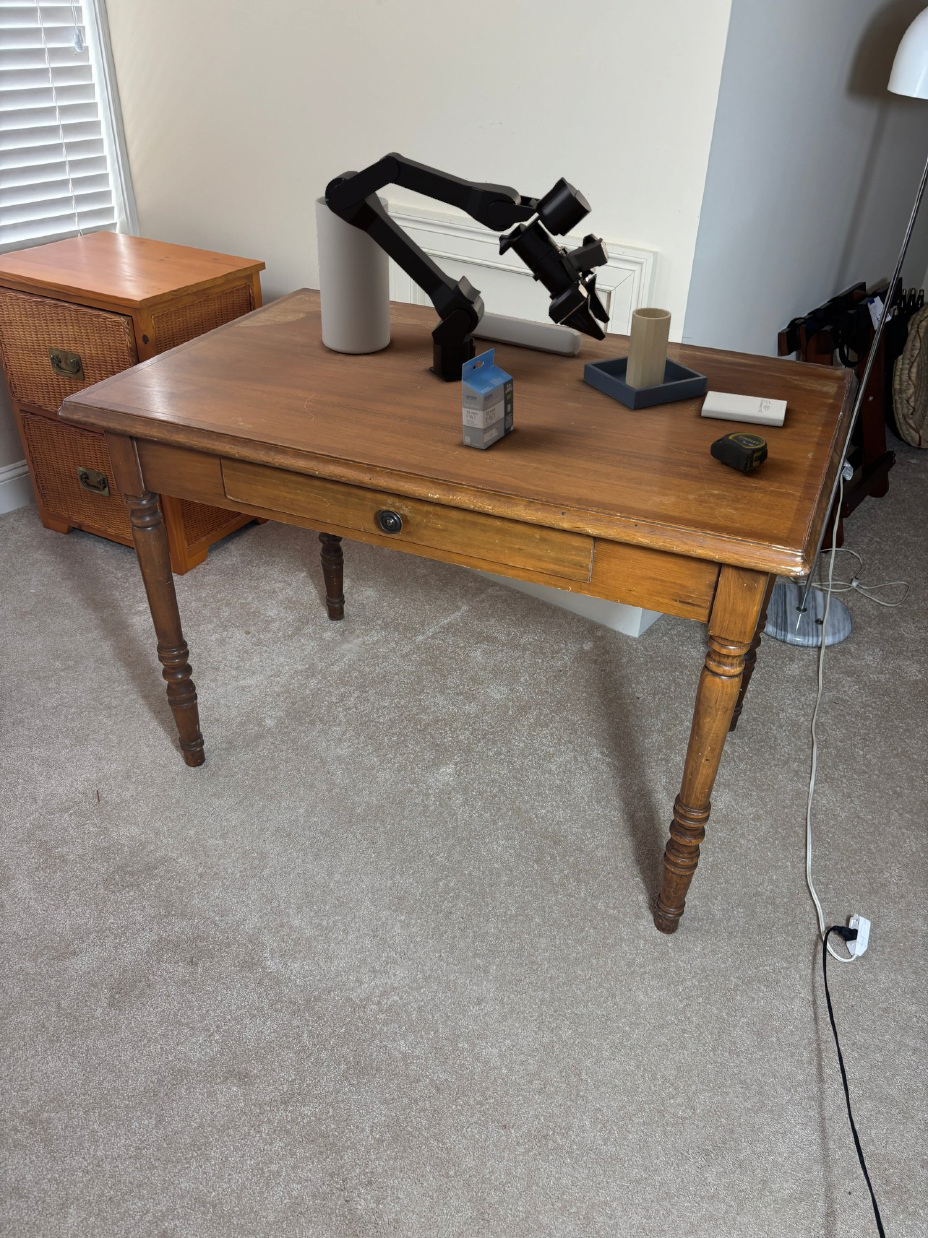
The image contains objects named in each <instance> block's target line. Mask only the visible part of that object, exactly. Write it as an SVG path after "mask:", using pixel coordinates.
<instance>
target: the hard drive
mask: <svg viewBox="0 0 928 1238" xmlns="http://www.w3.org/2000/svg"><path fill="white" fill-rule="evenodd" d="M787 403H788V401H787V400H781V399H780V400H779V399H775V398H774V399H773V398H765V397H759V396H758V397H757V396H749V395H744V394H743V395H742V394H735V393H729V392H728V393H727V392H718V391H712V390H709V391H708V392H707V393H706V396H705V399H704V402H703V406H702V408H701V414H700V415H701V417H705V418H712V419H719V420H727V421H735V422H743V423H750V424H757V425H765V426H773V427H783V424H784V421H785V414H786V409H787Z"/></svg>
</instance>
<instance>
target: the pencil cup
mask: <svg viewBox="0 0 928 1238" xmlns="http://www.w3.org/2000/svg"><path fill="white" fill-rule="evenodd" d="M631 314H632V315H631V324H630V334H629V341H628V342H629V344H628V353H627V356H628V362H627V372H626V382H625V384H627V385H629V386H631V387H633V388H635V389H636V390H637V389H641V388H646V387H651V386H656V385H661V384H663V379H664V371H665V363H666V357H667V356H668V355H667V354H668V347H669V346H668V345H669V338H670V329H671V322H672V312H670V311H669V310H667V309H664V308H660V307H659V308H658V307H639V308H636V309H633V310H632V313H631Z"/></svg>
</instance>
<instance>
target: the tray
mask: <svg viewBox="0 0 928 1238" xmlns="http://www.w3.org/2000/svg"><path fill="white" fill-rule="evenodd" d="M627 362H628V355H626V356H620V357H615V358H610V359H604V360H598V361H593V362H587V363H584V366H583V379H582V381H583V382H584V383H586V384H588V385H590V386H592V387H593V388H595V389H596V390H599V391H600V392H602V393H604V394H605V395H607V396H609V397H610V398H613V399H614V400H616V401H618V402H619V403H621V404H623V405H625V406H627V407H628V408H630V409H632V410H638V409H643V408H647V407H651V406H652V407H653V406H658V405H662V404H666V403H672V402H676V401H681V400H686V399H690V398H696V397H700V396H706V394H707V393H706V391H707V385H708V376H706V375H704V374H702V373H700V372H698V371H696V370H694V369H691V368H690V367H687V366H686V365H683V364H682V363H679V362H677V361H676V360H674V359H671V358H669V357H667V356H666V363H665V371H664V379H663V384H661V385H656V386H651V387H646V388H641V389H637V390H636V389H635V388H633V387H631V386H629V385H627V384H625V382H626V372H627Z"/></svg>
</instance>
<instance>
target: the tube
mask: <svg viewBox="0 0 928 1238" xmlns="http://www.w3.org/2000/svg"><path fill="white" fill-rule="evenodd" d="M468 335H470V336H471V337H473V338H479V339H484V340H489V341H493V342H497V343H498V342H499V343H503V344H508V345H513V346H517V347H522V348H527V349H531V350H537V351H540V352H541V351H542V352H546V353H551V354H555V355H561V356H564V357H572V356H576V355H578V353H579V351H580V350H581V348H582V347H583V337H582V333H581V332H579V331H577V330H575V329H572V328H570V327H567V326H563V325H558V324H551V323H546V322H542V321H536V320H531V319H526V318H520V317H515V316H510V315H505V314H501V313H500V314H499V313H494V312H489V311H484V315H483V317H482V319H481V321H480V322H479V324H478V326H477V327H476V329H475V330H474V331H473V332H472V333H470V334H468Z"/></svg>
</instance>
